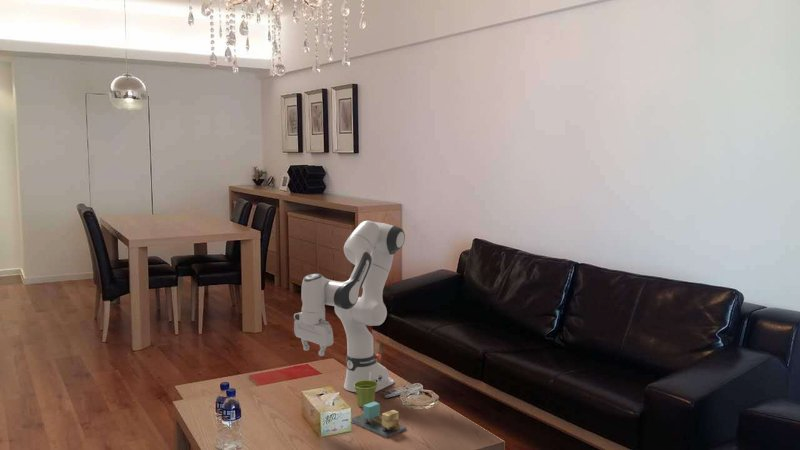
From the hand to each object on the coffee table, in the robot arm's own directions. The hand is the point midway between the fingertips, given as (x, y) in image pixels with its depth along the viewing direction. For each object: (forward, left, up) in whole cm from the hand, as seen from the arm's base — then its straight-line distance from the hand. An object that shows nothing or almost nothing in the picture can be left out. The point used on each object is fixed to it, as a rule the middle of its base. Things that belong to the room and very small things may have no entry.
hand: (313, 352), depth 256 cm
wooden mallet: (-10, +25, -23) cm, 35 cm away
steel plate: (-10, +25, -24) cm, 36 cm away
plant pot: (-20, +7, -24) cm, 32 cm away
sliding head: (-10, +22, -23) cm, 33 cm away
